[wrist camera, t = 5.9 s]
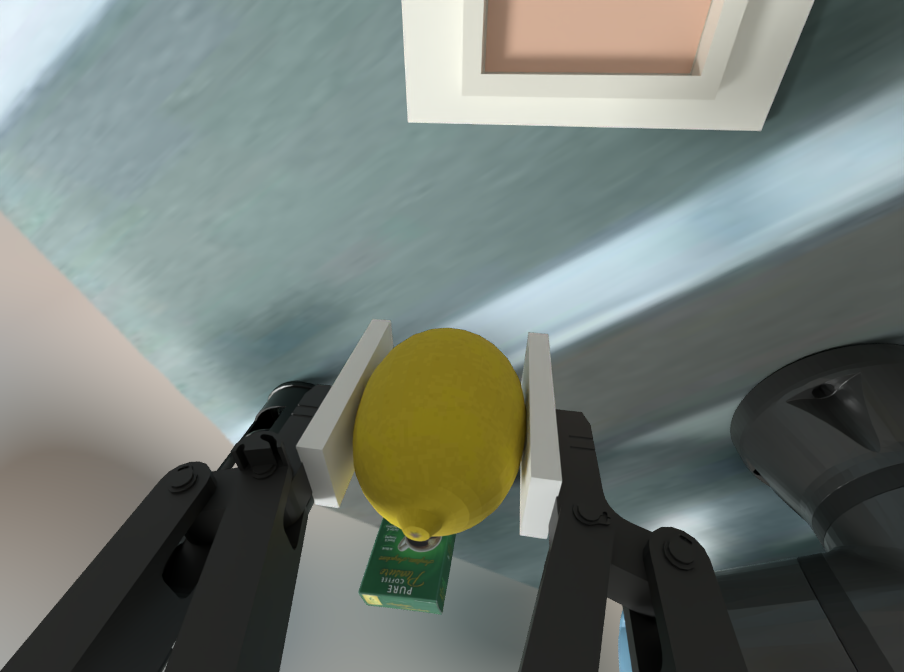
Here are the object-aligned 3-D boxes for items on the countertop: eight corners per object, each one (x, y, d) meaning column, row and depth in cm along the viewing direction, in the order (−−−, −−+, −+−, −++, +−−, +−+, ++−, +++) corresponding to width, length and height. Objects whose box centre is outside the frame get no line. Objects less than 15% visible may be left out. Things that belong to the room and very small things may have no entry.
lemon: (513, 278, 14) (505, 461, 8) (534, 391, 17) (541, 594, 10) (375, 301, 15) (268, 470, 9) (416, 401, 18) (357, 585, 12)
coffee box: (400, 489, 48) (364, 609, 37) (393, 474, 46) (355, 595, 36) (463, 490, 46) (446, 617, 35) (459, 475, 45) (439, 603, 34)
